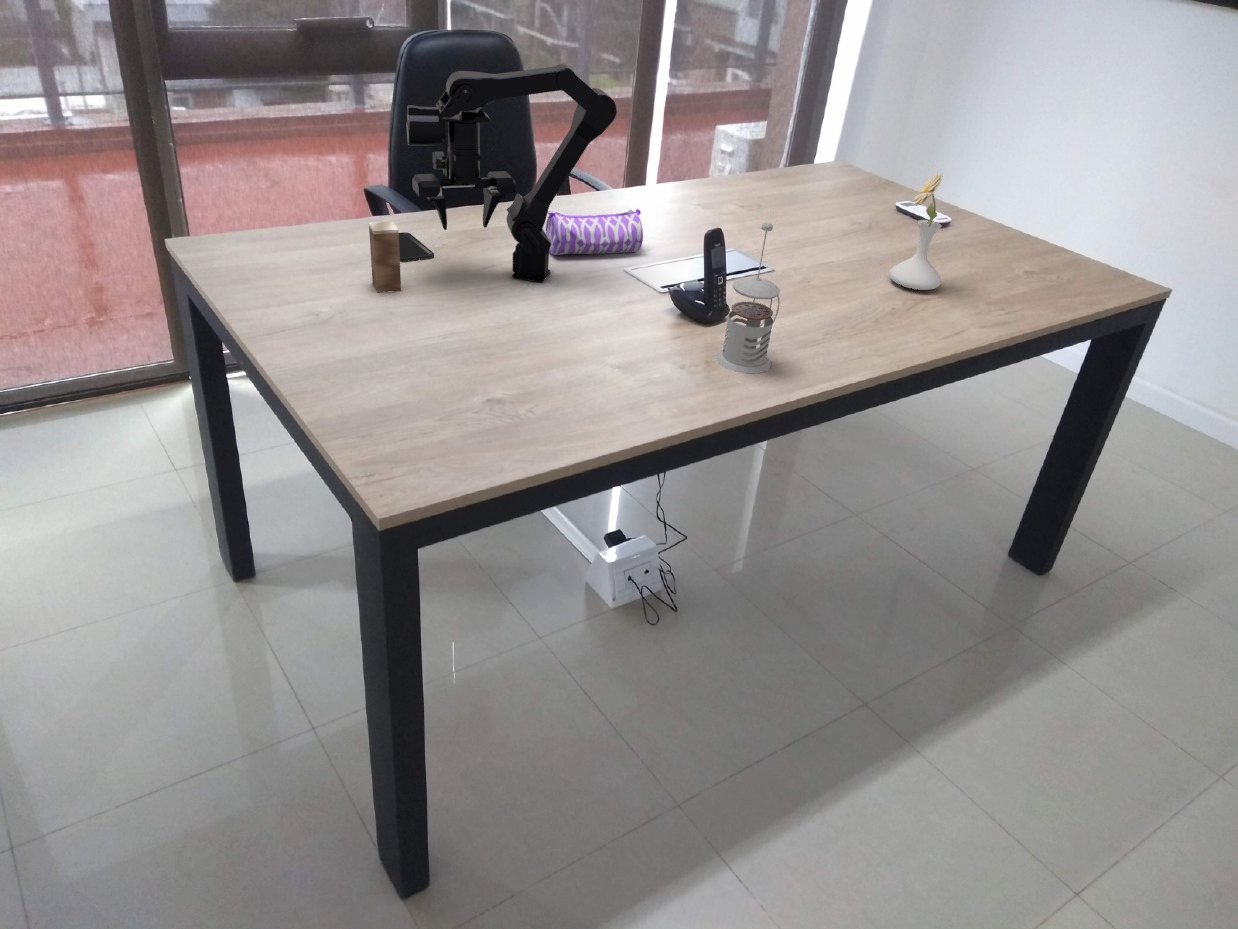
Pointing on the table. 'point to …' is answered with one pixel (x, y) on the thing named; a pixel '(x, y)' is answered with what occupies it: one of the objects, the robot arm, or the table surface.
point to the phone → (412, 249)
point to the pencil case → (594, 233)
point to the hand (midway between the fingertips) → (465, 227)
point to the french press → (750, 324)
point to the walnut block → (385, 256)
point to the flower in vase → (921, 247)
